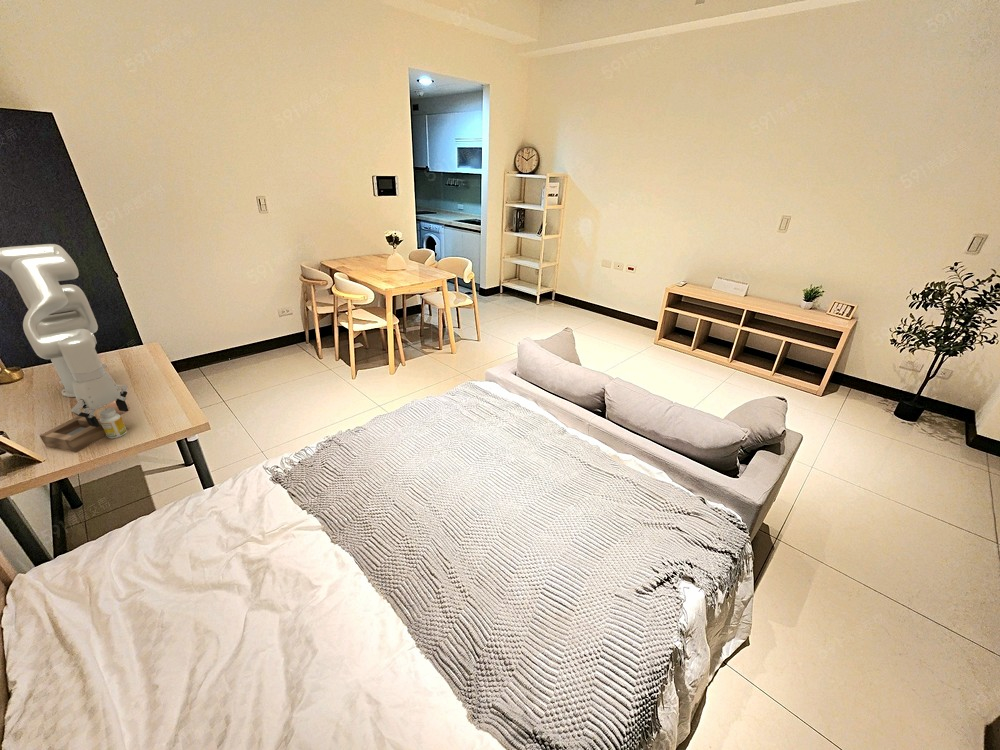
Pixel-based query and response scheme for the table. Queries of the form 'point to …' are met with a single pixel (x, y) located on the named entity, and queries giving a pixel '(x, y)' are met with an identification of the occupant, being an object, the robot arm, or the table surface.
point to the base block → (73, 435)
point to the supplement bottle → (112, 423)
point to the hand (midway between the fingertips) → (110, 418)
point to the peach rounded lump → (114, 406)
